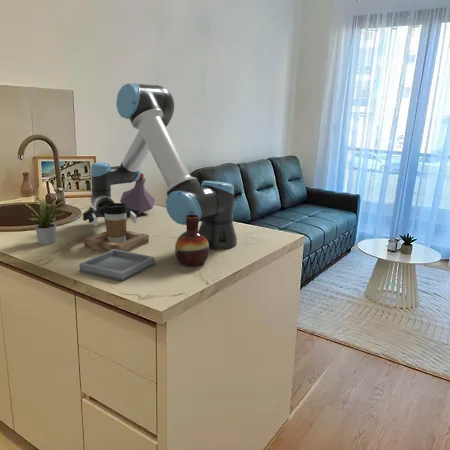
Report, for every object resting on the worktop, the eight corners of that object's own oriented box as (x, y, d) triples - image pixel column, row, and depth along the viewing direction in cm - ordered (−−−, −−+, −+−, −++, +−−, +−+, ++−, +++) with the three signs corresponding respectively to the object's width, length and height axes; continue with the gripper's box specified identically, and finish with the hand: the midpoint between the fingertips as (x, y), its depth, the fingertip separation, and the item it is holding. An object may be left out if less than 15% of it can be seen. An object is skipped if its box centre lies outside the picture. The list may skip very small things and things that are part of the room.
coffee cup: (122, 249, 149) (120, 207, 145) (100, 247, 151) (98, 205, 147) (133, 242, 157) (131, 202, 153) (112, 240, 159) (110, 200, 155)
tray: (154, 264, 136) (154, 257, 135) (122, 281, 122) (122, 273, 121) (114, 256, 142) (114, 249, 141) (79, 271, 128) (79, 263, 127)
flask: (141, 224, 195) (145, 193, 181) (111, 208, 198) (113, 175, 184) (161, 205, 206) (166, 174, 192) (133, 190, 209) (136, 158, 195)
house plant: (79, 241, 156) (76, 197, 152) (47, 251, 145) (43, 204, 140) (53, 234, 163) (50, 192, 159) (20, 243, 152) (16, 198, 147)
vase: (178, 269, 132) (178, 221, 128) (172, 257, 143) (172, 212, 139) (212, 266, 135) (213, 219, 131) (204, 255, 146) (205, 211, 142)
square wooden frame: (148, 242, 157) (148, 234, 157) (120, 254, 143) (120, 246, 143) (114, 236, 164) (114, 228, 163) (84, 247, 150) (83, 239, 149)
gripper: (136, 213, 174) (150, 228, 156) (72, 217, 164) (79, 233, 146) (136, 195, 172) (150, 208, 154) (71, 198, 162) (78, 212, 144)
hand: (116, 220), depth 150 cm, fingers open, 13 cm apart
